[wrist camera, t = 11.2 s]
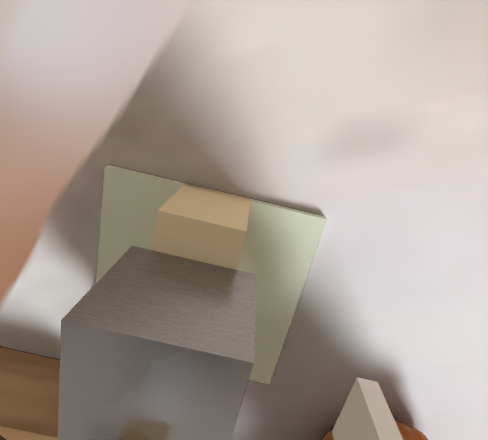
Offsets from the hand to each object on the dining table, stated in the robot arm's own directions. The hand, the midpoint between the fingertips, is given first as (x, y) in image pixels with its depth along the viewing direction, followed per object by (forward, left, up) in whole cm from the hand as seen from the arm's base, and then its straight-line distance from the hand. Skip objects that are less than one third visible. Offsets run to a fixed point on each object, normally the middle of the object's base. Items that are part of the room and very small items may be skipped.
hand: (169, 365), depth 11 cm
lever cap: (0, 0, -1) cm, 1 cm away
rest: (0, 0, -5) cm, 5 cm away
